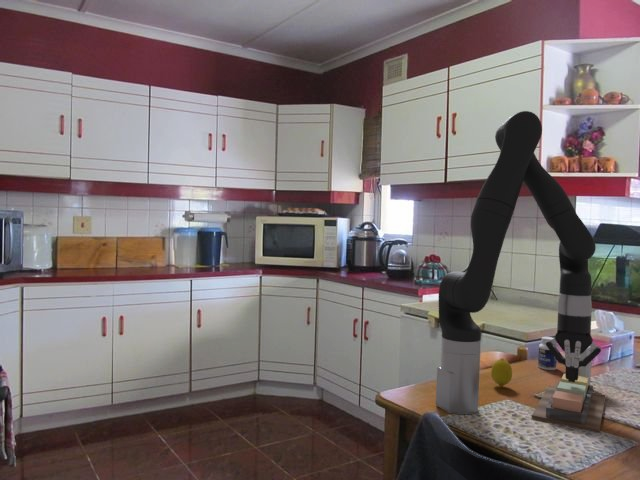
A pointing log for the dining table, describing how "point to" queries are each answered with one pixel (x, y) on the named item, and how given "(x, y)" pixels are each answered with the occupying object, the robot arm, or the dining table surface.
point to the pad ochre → (577, 381)
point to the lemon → (501, 372)
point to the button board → (583, 420)
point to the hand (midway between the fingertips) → (571, 381)
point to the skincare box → (587, 369)
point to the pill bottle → (546, 356)
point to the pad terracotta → (567, 401)
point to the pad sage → (572, 389)
